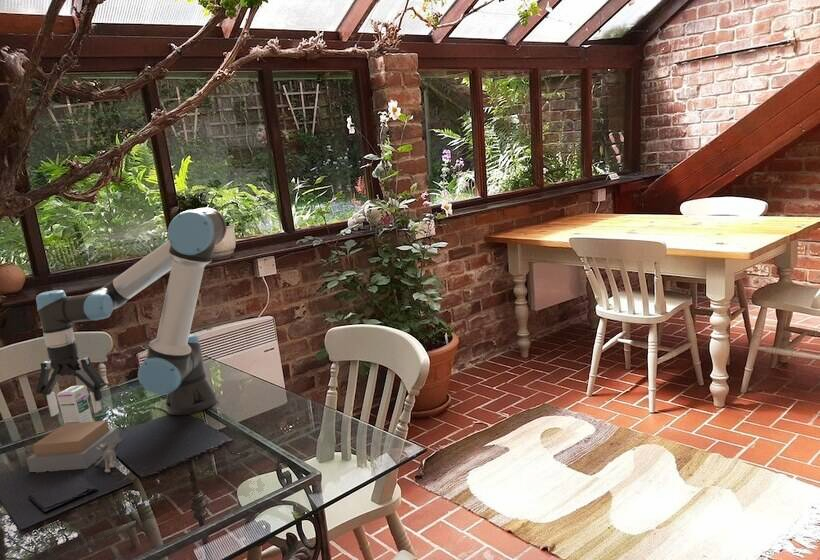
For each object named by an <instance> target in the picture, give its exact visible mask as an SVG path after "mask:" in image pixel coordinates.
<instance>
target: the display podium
mask: <svg viewBox="0 0 820 560" xmlns="http://www.w3.org/2000/svg"><path fill="white" fill-rule="evenodd" d="M108 423H109V422H108V420H99V421H96V420H95V422H84V423H73V424H65V423H64V424H62V425H61V426H59V427H58V428H56V429H55V430H53V431H51V432H50V433H49V434H47V435H46V436H44V437H43V438H41V439H40V440H39V441H36V442H35V443H34V444H33V445H32V446H33V447H32V448H33V452H34V453H33V454H31V455H29V456H28V457H27V458H26V463H27V466H28V471H29V473H30V472H36V473H47V472H46V471H49V472H60V470H61V471H70V470H81V469H88V468H89V467H91V466H92V465H93V464H95V462H98V461H99V460H100V459H101V457H102V456H103V453H104V451H105V450H104V451H102V452H101V451H99V449H100V448H99V445H100V444H103V443H106V442H107V441H108V440H109V439H110V445H111V446H112V445H113V444H114V443H115V442H116V440H118V439H119V438H121V437H120V433H119V428H118V427H112V428H111V427H109V426H110V425H109V424H108ZM115 439H116V440H115ZM97 448H99V449H97Z"/></svg>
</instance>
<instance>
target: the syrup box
mask: <svg viewBox="0 0 820 560" xmlns="http://www.w3.org/2000/svg"><path fill="white" fill-rule="evenodd" d="M56 396H57V397H56V398H57V400H58V401H57V402H58V403H59V404H58V405H59V408H60V411H61V415H62V419H63V422H64V424H73V423H84V422H95V421H96V419H95V413H94V410H93V405H92V401H91V397H90V393H89V391H88V386H87V385H85V384H84V385H82V384H79V385H72V386H70V387H68V388H66V389H64V390H62V391H60V392H57V393H56Z"/></svg>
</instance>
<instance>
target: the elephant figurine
mask: <svg viewBox="0 0 820 560" xmlns="http://www.w3.org/2000/svg"><path fill="white" fill-rule="evenodd" d="M115 440H116V439H115ZM122 440H123V438H122V437H120V438H119V439H118V440H116V443H115V444H114V445H112V446H111V445H110V439H109V440H108V441H107V442H106V443H103V444H100V445H99V448H100V449H99V448H97V449H99V451H101V452H102V451H104V450H105V451H104V453H103V456H101V457H100V458H99V459H98V460H97V461H95V462H94V466H95V467H96V466H99V465H101V463H102V461H104V468H105V469H104V472H105V473H110V472H111V471H112V470H111V468H115V466H116V463H117V464H119V465H120V462H119V460H118V459H117V454H116V452H115V448H116V446H117V445H118V444H119V443H120V442H121V441H122ZM115 462H116V463H115Z"/></svg>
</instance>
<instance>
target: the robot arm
mask: <svg viewBox="0 0 820 560" xmlns="http://www.w3.org/2000/svg"><path fill="white" fill-rule="evenodd" d="M167 228H168V229H167V238H168V240H167V241H165V242H164V243H162V244H161V245H160V246H158V247H157V248H155V249H154V250H152V251H151V252H150V253H148V254H147V255H146V256H144V257H143V258H141V259H140V260H139V261H137V262H136V263H134V264H133V265H131V266H130V267H128V269H126V270H125V271H123V272H122V273H120V274H119V275H117V276H116V277H114V278H113V279H112V280H111V281H109V282H108V283H106V284H105V285H104V286H102V287H100V288H98V289H95V290H93V291H91V292H88V293H85V294H79V295H72V296H71V295H70V296H67V295H66V292H65V291H64V290H63V289H53V290H49V291H48V290H47V291H43V292H41V293H39V294H38V295H36V297H35V301H36V307H37V311H36V312H38V316H39V320H40V324H41V328H42V332H43V333H42V334H43V339H44V344H45V346H46V347H47V348H46V352H47V356H48V359H49V360H45V361H43V362H40V374H39V378H38V382H37V387H36V391H35V392H36V394H37V395H38V394H42V395H43V396H44V401H45V405H46V406H48V409H49V415H50V417H54V416H56V415H57V414H60V410H59V406H58V405H59V404H58V401H57V400H58V399H57V397H56V396H57V395H56V393H55V391H54V388H55V386H56V385H57V382H58V381H59V378H60V377H64V376H74V377H76V378H77V379H79V380H80V381H81V382H82V383H83V384H84V385H85V386H87V388H89V389H90V391H89V397H90V402H91V406H92V410H93V414H98V412H100V411H101V410H103V407H102V403H101V400H102V398H103V397H102V392H101V388H103V387H105V386H106V384H107V383H106V382H105V380H104V379H103V378H102V376H101V375H100V373H99V372H98V371H97V370H96V368H95V367H94V365H93V364H92V362H91V359H90V357H89V356H86V357H83V358H79V356H78V354H79V350H78V345H77V343H76V341H75V340H76V337H75V333H74V328H73V323H79V322H88V321H99V320H104V319H107V318H109V317H111V315H112V313H113V311H114V310H117V309H119V308H120V307H122V306H124V305H125V304H126V303H127V302H128V301H129V300H130V299H131V298H133V297H134V296H136V295H137V294H138V293H141V291H142V290H144V289H146V288H147V287H148V286H150V285H152V284H153V283H155V282H156V281H157V280H159V279H160V278H162V276H164V275H165V274H167V273H169V272H170V274H169V278H168V282H167V287H166V292H165V296H164V301H163V305H162V311H161V314H160V315H161V316H160V319H159V324H158V328H157V333H156V337H155V338H154V339H153V340H151V341H150V342H149V344H148V349H147V352H146V353H147V354H146V359H144V360H143V361H142V363H141V364H140V365H139V368H138V369H137V370H138V371H137V378H138V381H139V383H140V385H142V387H143V389H145V391H147V392H149V393H150V394H153V395H157V396H165V395H166V401H165V408H166V413H167V414H169V415H172V416H184V415H190V414H194V413H199V412H201V411H204V410H206V409H208V408H210V407H212V406H213V405H215V404H216V402H217V401H218V400H217V395H216V394H217V393H216V392H215V390H214V389H213V387H212V385H211V384H210V382H209V380H208V378H207V375H206V369H205V364H204V358H203V353H202V352H203V351H202V346H201V342H200V340H199V337H198V335H197V334H195V333H194V334H193V333H191V328H192V324H193V320H194V316H195V311H196V306H197V302H198V298H199V297H198V296H199V294H200V293H199V292H200V288H201V284H202V280H203V274H204V271H205V267H206V266H207V265H209V264H210V263H212V262H213V256H214V252H215V248H216V245H218V244H220V243H221V242H222V241H223V239H224V238H225V237H226V234H227V229H228V227H227V221H226V219H225V218H224V216H223V215H222V214H221V212H219V211H218V210H216V209H214V208H211V207H206V206H205V207H199V208H195V209H191V208H190V209H187V210H185V211H182V212H180V213H178V214H177V215H176V216H174V218H173V219H171V221H170V223H169V225H168V227H167ZM51 368H52V369H53V371H52V373H51V375H50V372H51ZM49 376H50V378H49Z"/></svg>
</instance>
